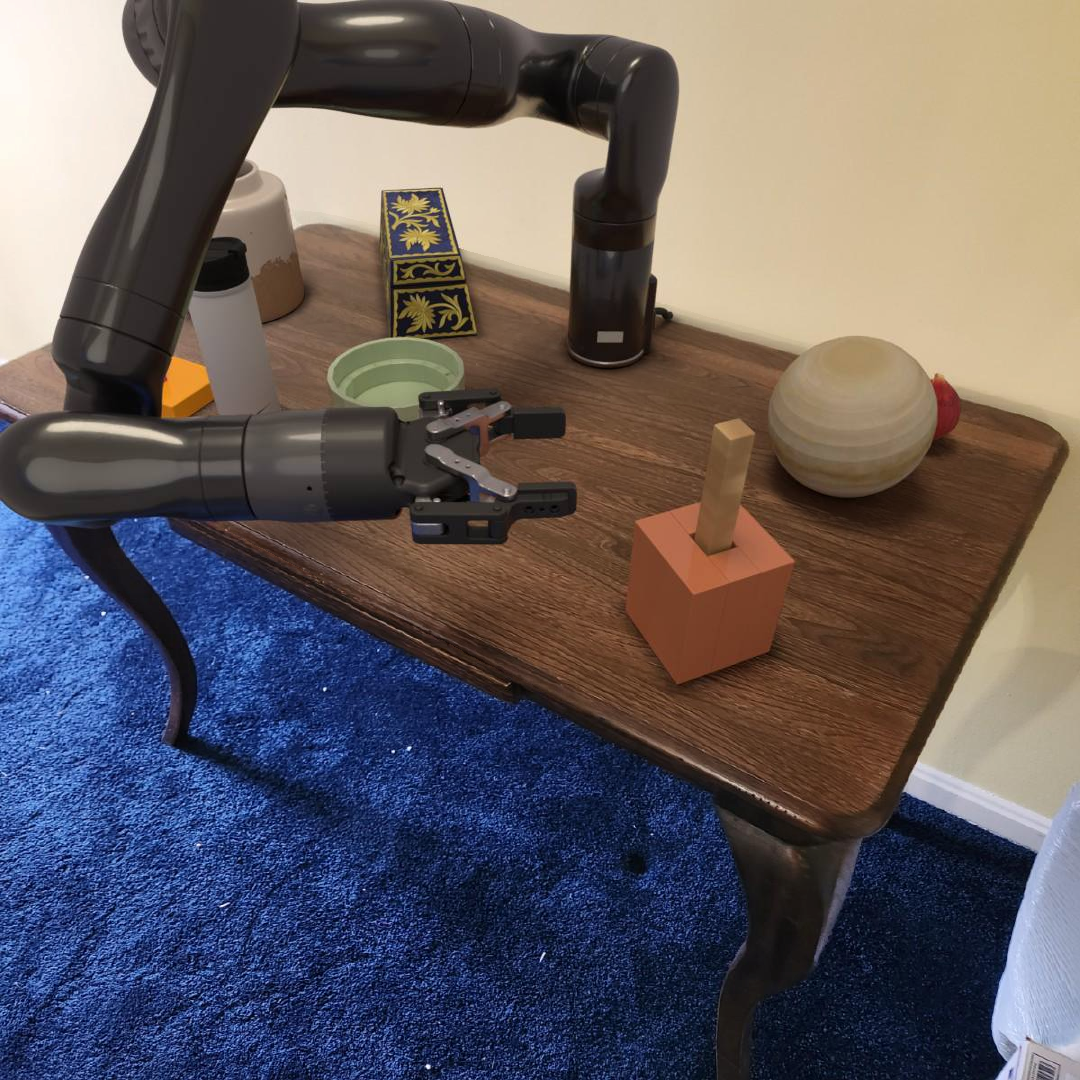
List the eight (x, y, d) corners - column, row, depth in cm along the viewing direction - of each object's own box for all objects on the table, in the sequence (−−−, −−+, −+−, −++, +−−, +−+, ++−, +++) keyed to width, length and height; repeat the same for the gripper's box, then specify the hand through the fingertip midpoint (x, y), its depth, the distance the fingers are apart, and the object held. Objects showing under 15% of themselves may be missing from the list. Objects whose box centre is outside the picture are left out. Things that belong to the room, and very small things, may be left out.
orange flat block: (177, 372, 100) (166, 339, 97) (229, 389, 97) (220, 356, 94) (123, 405, 95) (110, 371, 92) (177, 424, 92) (166, 390, 89)
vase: (290, 328, 108) (263, 193, 97) (169, 326, 108) (127, 191, 97) (315, 275, 119) (293, 149, 108) (206, 273, 119) (172, 147, 108)
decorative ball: (943, 504, 83) (1000, 368, 73) (818, 547, 78) (861, 408, 68) (841, 424, 93) (878, 295, 83) (725, 458, 88) (750, 325, 78)
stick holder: (712, 582, 75) (730, 492, 68) (769, 651, 69) (795, 561, 62) (624, 610, 72) (634, 520, 65) (676, 685, 66) (693, 594, 60)
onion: (950, 433, 92) (976, 367, 87) (944, 462, 88) (971, 395, 83) (894, 420, 94) (916, 355, 88) (886, 448, 90) (908, 381, 85)
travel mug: (271, 446, 89) (226, 261, 76) (212, 438, 90) (158, 254, 77) (296, 413, 94) (257, 233, 80) (239, 406, 95) (192, 226, 81)
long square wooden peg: (699, 619, 72) (739, 417, 58) (712, 635, 70) (756, 433, 57) (678, 626, 71) (713, 424, 58) (691, 643, 70) (730, 440, 56)
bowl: (442, 370, 101) (438, 327, 97) (485, 434, 91) (483, 389, 87) (321, 395, 96) (313, 352, 93) (353, 465, 87) (346, 420, 83)
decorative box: (390, 342, 105) (382, 272, 99) (379, 243, 127) (372, 181, 121) (477, 335, 107) (474, 266, 101) (452, 239, 129) (448, 177, 123)
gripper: (302, 487, 49) (583, 478, 50) (331, 360, 60) (563, 355, 61) (323, 580, 54) (578, 571, 55) (346, 448, 65) (560, 442, 66)
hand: (570, 458), depth 58 cm, fingers open, 8 cm apart
